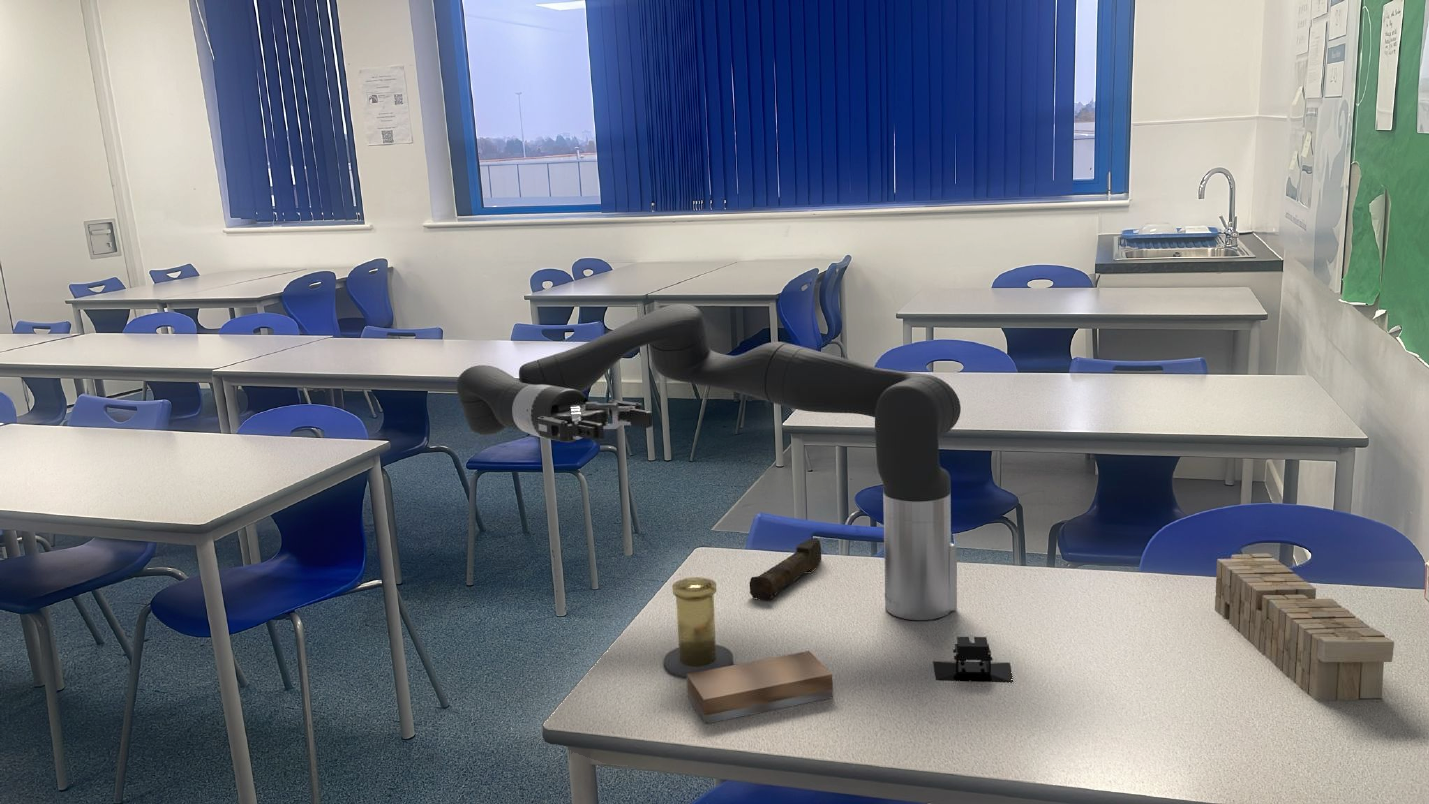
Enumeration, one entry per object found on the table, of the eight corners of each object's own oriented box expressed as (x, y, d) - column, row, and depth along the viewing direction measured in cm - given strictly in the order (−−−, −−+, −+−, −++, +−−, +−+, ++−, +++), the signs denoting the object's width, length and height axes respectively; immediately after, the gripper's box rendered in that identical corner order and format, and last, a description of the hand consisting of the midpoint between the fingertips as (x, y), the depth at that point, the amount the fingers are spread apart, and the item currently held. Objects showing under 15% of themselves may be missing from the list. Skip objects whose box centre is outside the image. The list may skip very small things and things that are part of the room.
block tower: (1209, 613, 148) (1318, 708, 120) (1211, 555, 147) (1321, 637, 118) (1267, 611, 148) (1390, 706, 119) (1269, 552, 147) (1394, 635, 118)
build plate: (1020, 664, 135) (1021, 630, 134) (1028, 691, 128) (1028, 655, 127) (920, 662, 137) (920, 628, 136) (922, 688, 130) (922, 653, 129)
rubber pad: (720, 643, 144) (720, 638, 144) (742, 670, 135) (742, 666, 135) (656, 654, 141) (655, 650, 141) (674, 683, 133) (674, 679, 133)
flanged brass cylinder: (711, 646, 142) (708, 574, 140) (725, 662, 136) (722, 589, 134) (671, 653, 140) (667, 581, 138) (683, 670, 135) (679, 596, 133)
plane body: (809, 673, 134) (809, 650, 133) (832, 697, 127) (832, 674, 127) (687, 697, 129) (686, 674, 129) (705, 723, 123) (704, 699, 122)
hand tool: (771, 605, 157) (769, 575, 156) (748, 599, 159) (747, 570, 158) (836, 564, 171) (836, 537, 170) (815, 560, 174) (814, 533, 173)
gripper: (507, 395, 146) (582, 408, 134) (588, 378, 156) (664, 388, 144) (511, 448, 147) (586, 465, 136) (591, 428, 157) (667, 442, 146)
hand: (626, 426), depth 140 cm, fingers open, 8 cm apart
